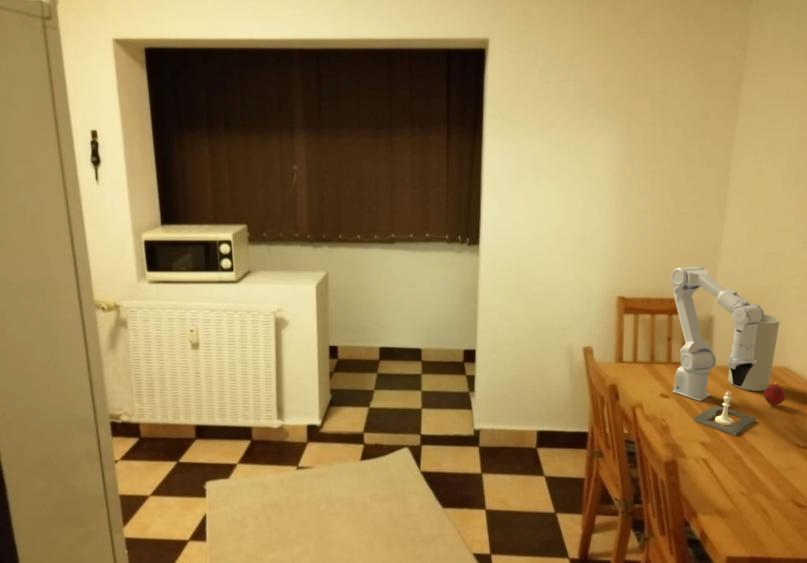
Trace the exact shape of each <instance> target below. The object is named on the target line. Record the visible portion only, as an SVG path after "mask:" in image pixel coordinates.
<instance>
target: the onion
mask: <svg viewBox="0 0 807 563" xmlns="http://www.w3.org/2000/svg"><path fill="white" fill-rule="evenodd" d="M763 397H764V399H765V401H766V402H767V403H768V404H770V405H771V406H776V405H779V404H782V403H783V402H784V401H785V400H786V392H785V390H784V388H782V387H781V386H780V385H779V383H778V382H774V384H772V385H771V384H770V385H769V387H767V388H766V389H765V390H764V392H763Z"/></svg>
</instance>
